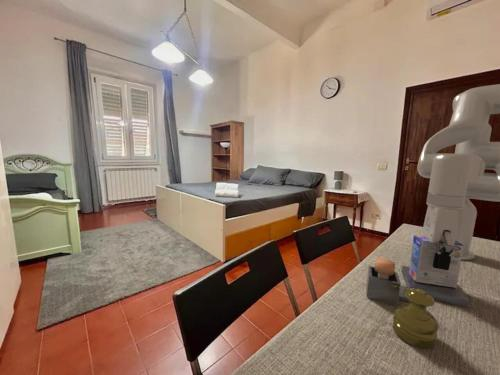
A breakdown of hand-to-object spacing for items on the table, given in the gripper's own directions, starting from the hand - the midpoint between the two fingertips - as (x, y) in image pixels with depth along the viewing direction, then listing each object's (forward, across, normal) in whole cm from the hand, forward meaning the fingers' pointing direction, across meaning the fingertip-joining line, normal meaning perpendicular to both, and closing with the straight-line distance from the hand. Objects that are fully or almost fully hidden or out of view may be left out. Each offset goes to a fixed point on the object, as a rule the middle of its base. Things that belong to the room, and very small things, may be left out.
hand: (434, 260), depth 62 cm
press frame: (+8, +4, -5) cm, 10 cm away
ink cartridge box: (+6, 0, 0) cm, 6 cm away
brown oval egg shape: (+4, +11, -13) cm, 18 cm away
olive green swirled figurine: (+8, +23, -8) cm, 26 cm away
